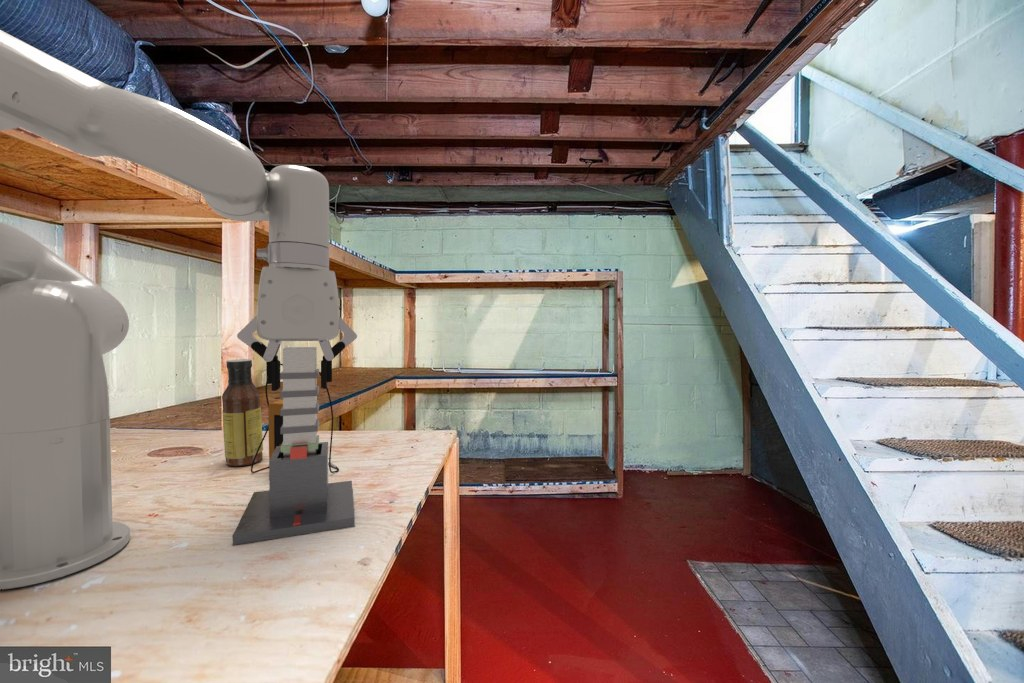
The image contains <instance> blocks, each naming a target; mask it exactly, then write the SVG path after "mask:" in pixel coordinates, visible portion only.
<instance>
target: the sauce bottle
mask: <svg viewBox="0 0 1024 683" xmlns="http://www.w3.org/2000/svg"><path fill="white" fill-rule="evenodd" d="M252 367H253V361H252V359H250V358H249V359H248V358H247V359H246V358H244V359H243V358H242V359H241V358H238V359H230V360H229V359H228V360H227V361H226V368H227V374H228V375H227V376H228V380H227V384H228V385H227V387H226V388H225V389H224V391H223V393H222V395H221V400H222V428H223V443H224V445H223V447H224V457H225V462H226V464H227V465H228V466H230V467H241V466H244V467H245V466H249V465H252V462H253V459H254V457H255V454H256V452H257V450H258V447H259V445H260V443H261V441H262V439H263V424H262V423H263V421H262V419H263V418H262V407H261V402H260V401H261V400H260V398H261V397H260V391H259V390H258V388H257V387H256V385H255V384H254V382H253V378H252ZM263 442H264V441H263ZM263 442H262V445H261V447H260V449H259V451H258V454H257V456H256V459H255V461H254V464H256V463H258V462H260V461H262V459H263V456H264V455H263V454H264V453H263V450H264V443H263Z"/></svg>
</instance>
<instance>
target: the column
mask: <svg viewBox="0 0 1024 683" xmlns="http://www.w3.org/2000/svg"><path fill="white" fill-rule="evenodd" d="M317 351H318V350H317V346H286V347H284V348H282V364H283V366H282V371H280V380H282V389H281V390H280V392H279V397H280V398H281V399H282V400H283V407H282V408H281V410H280V416H283V425H282V427H281V428H280V434H283V442H282V445H281V452H283V458H287V457H290V448H291V447H300V446H307V456H309V455H317V449H318V445H319V443H320V435H318V432H319V426H320V418H318V413H319V410H320V402H319V401H318V399H317V398H318V397H319V396H318V395H319V394H320V393H319V392H320V385H317V384H318V381H317V380H318V378H319V377H320V374H319V372H320V368H317V366H318V363H317V362H318V356H317V354H318V352H317Z"/></svg>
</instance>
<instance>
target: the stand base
mask: <svg viewBox="0 0 1024 683" xmlns="http://www.w3.org/2000/svg"><path fill="white" fill-rule="evenodd" d="M328 458H329V441H323V442H320V441H319V445H318V449H317V455H309V456H307V446H300V447H291V448H290V457H287V458H283V452H281V446H276V448H275V450H274V452H273V454H272V456H271V458H270V460H269V459H268V467H269V468H268V470H269V471H268V473H269V475H268V476H269V478H268V480H269V482H268V483H269V485H268V486H269V490H262V491H254V492H253V493H252V495H251V497H250V499H249V501H248V503H247V506H246V508H245V509H244V511H243V514H242V516H241V518H240V520H239V522H238V523H237V526H236V527H235V530H234V532H233V534H232V546H238V545H245V544H249V543H256V542H262V541H270V540H276V539H282V538H288V537H294V536H295V537H297V536H301V535H308V534H314V533H320V532H326V531H332V530H338V529H344V528H349V527H350V528H351V527H355V523H356V522H355V506H354V493H353V492H354V491H353V480H344V481H337V482H331V483H330V482H329V465H328V462H329V459H328Z"/></svg>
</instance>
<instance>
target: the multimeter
mask: <svg viewBox="0 0 1024 683" xmlns="http://www.w3.org/2000/svg"><path fill="white" fill-rule="evenodd" d="M280 366H281V367H283V363H280ZM319 377H321V371H319ZM264 390H265V399H266V405H267V408H268V409H267V410H268V426H267V428H266V430H265V433H264V435H263V436H262V441H261V443H260V445H259V447H258V450H257V452H256V454H255V457H254V459H253V462H252V464H251V466H250V472H251V474H255V473H258V472H260V471H263V470H266V469H269V466H266V467H262V468H260V469H257V470H255V471H253V469H254V464H255V463H254V461H255V459H256V456H257V454H258V451H259V449H260V447H261V445H262V442H264V440H265V438H266V436H267V433H268V461H269V460H270V458H271V456H272V454H273V452H274V450H275V448H276V446H281V445H282V442H283V434H280V428H281V427H282V425H283V416H280V410H281V408H282V407H283V399H280V400H277V401H273V402H269V397H268V396H269V395H268V384H267V380H266V382H265V389H264ZM326 392H327V397H328V402H329V406H330V411H331V412H330V414H331V429H330V431H331V432H330V444H329V452H328V471H329V472H330V473H331V474H335V473H338V472H339V471H340V468H339V467H338V466H337V465H336V464H334V463H333V462H331V461H332V446H333V433H334V413H333V412H334V410H333V404H332V400H331V399H332V398H331V395H330V392H329V389H328V387H327V388H326ZM331 467H332V468H334V469H336V470H334V471H332V469H331Z"/></svg>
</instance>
